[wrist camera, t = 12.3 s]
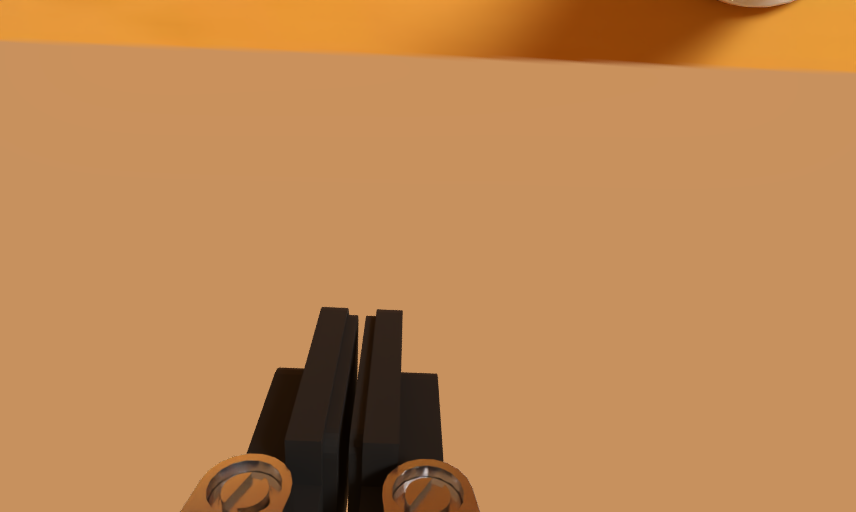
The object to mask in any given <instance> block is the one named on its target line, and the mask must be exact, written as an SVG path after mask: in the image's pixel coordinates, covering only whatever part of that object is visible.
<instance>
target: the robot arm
mask: <svg viewBox="0 0 856 512" xmlns="http://www.w3.org/2000/svg"><path fill="white" fill-rule="evenodd" d="M718 1H721V2H724V3H727V4H729V5H736V6H744V7H771V6H776V5H781V4H786V3H790V2H793V1H795V0H718ZM402 315H403V311H402V310H401V311H400V310H379V309H378V310H377V312H376V316H366V321H365V329H364V336H363V343H362V350H361V357H360V365H359V372H358V380H357V365H358V364H357V363H358V316H357V315H349V310H348V308H332V307H322V308H321V311H320V315H319V318H318V322H317V325H316V329H315V332H314V336H313V340H312V343H311V347H310V350H309V354H308V358H307V362H306V365H305V368H304V369H300V368H278V369H277V370H276V372H275V374H274V377H273V380H272V383H271V386H270V389H269V392H268V394H267V397H266V400H265V403H264V406H263V409H262V411H261V414H260V417H259V420H258V423H257V426H256V429H255V431H254V434H253V437H252V440H251V443H250V446H249V448H248V452H247V454H244V455H239V456H234V457H232V458H229V459H227V460H224V461H222V462H220V463H219V464H217V465H215V466H214V467H213V468H211V469H210V470H209V471H208V472H207V473H206V474H205V475H204V476H203V478H202V479H201V480H200V481H199V483H198V484H197V486H196V488H195V489H194V491H193V492H192V494H191V496H190V497H189V499H188V500H187V502H186V503H185V505H184V506H183V508H182V510H181V511H180V512H346V507H347V499H348V512H480V510H479V507H478V504H477V501H476V498H475V494H474V491H473V488H472V486H471V484H470V483H469V481H468V479H467V477H466V476H465V475H464V474H463V473H461V471H460V470H459V469H457V468H455V467H453V466H451V465H450V464H448V463H445V462H443V448H442V435H441V421H440V420H441V419H440V404H439V389H438V377H437V374H430V373H404V372H401V351H402V349H401V348H402Z"/></svg>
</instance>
